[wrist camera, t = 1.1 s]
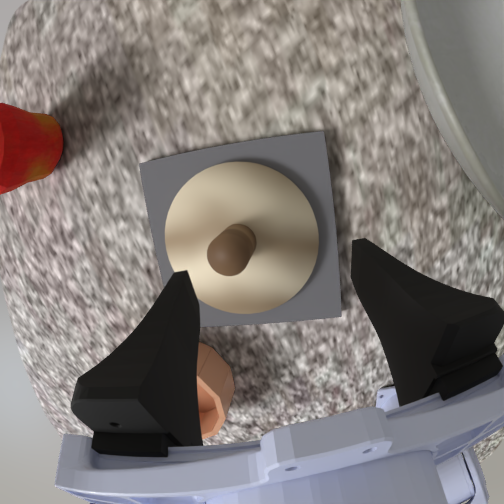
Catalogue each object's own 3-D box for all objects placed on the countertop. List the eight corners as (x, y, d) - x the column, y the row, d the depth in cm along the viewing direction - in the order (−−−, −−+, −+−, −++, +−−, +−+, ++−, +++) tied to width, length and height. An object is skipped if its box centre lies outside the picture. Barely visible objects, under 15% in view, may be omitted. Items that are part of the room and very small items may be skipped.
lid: (324, 303, 27) (328, 330, 22) (185, 313, 29) (166, 338, 25) (307, 151, 24) (309, 148, 19) (156, 176, 26) (129, 180, 21)
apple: (29, 115, 27) (-48, 113, 16) (78, 103, 26) (-8, 91, 15) (27, 185, 29) (-50, 202, 18) (75, 183, 28) (-11, 200, 17)
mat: (340, 311, 28) (341, 316, 27) (178, 323, 31) (174, 327, 30) (322, 132, 24) (323, 131, 23) (144, 163, 27) (139, 163, 26)
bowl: (241, 412, 33) (233, 443, 28) (157, 407, 35) (142, 434, 30) (222, 334, 30) (210, 363, 26) (129, 335, 32) (107, 359, 28)
